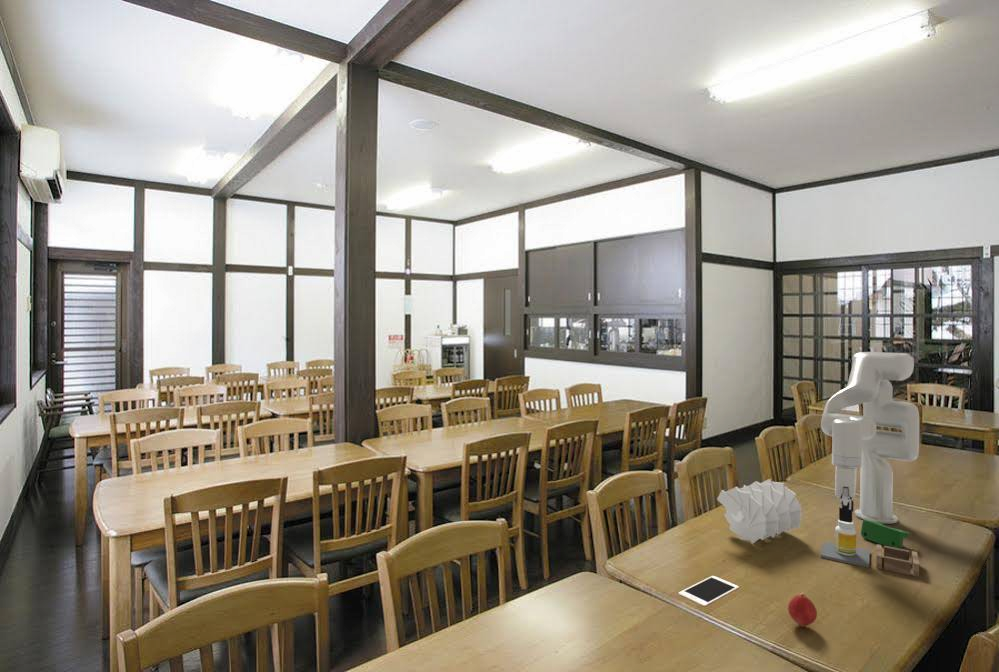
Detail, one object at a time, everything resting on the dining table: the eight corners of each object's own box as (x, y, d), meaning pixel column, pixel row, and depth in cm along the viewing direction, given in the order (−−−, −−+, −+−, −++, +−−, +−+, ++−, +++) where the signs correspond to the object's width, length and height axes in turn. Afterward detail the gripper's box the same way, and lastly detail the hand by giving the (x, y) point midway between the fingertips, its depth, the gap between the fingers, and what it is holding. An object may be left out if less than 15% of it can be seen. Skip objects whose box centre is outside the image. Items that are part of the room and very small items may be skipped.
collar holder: (876, 555, 161) (876, 544, 161) (916, 563, 156) (916, 552, 156) (876, 567, 153) (876, 555, 153) (918, 576, 148) (919, 564, 148)
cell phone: (677, 595, 140) (677, 592, 140) (713, 577, 149) (713, 575, 149) (704, 608, 134) (704, 605, 134) (739, 588, 143) (739, 586, 143)
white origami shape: (794, 544, 179) (747, 557, 167) (751, 507, 193) (705, 517, 180) (820, 502, 173) (774, 512, 160) (774, 467, 186) (728, 474, 173)
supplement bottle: (830, 549, 164) (831, 518, 164) (847, 548, 164) (847, 517, 164) (843, 556, 159) (843, 524, 159) (860, 556, 159) (860, 524, 159)
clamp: (900, 559, 168) (917, 537, 166) (888, 558, 166) (905, 536, 163) (866, 532, 179) (881, 510, 176) (855, 530, 176) (870, 509, 173)
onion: (782, 620, 127) (782, 586, 127) (805, 618, 128) (805, 585, 128) (798, 634, 121) (798, 599, 121) (822, 632, 122) (822, 598, 122)
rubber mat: (823, 543, 170) (823, 541, 170) (869, 552, 163) (869, 550, 163) (820, 557, 160) (820, 554, 160) (869, 567, 153) (869, 565, 153)
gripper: (833, 451, 170) (833, 504, 171) (830, 465, 156) (829, 523, 157) (862, 455, 166) (862, 509, 167) (861, 469, 152) (860, 528, 153)
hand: (846, 515), depth 162 cm, fingers open, 9 cm apart
